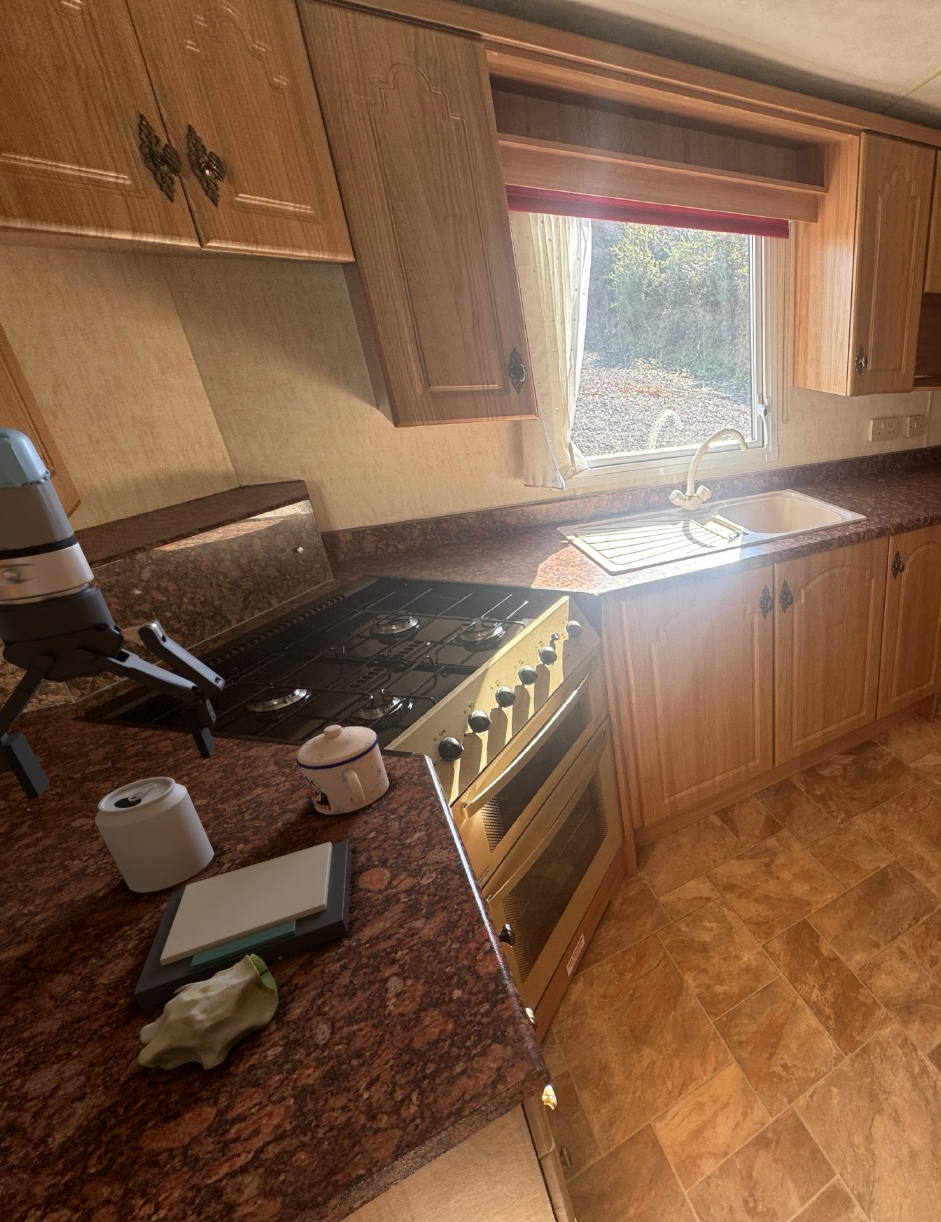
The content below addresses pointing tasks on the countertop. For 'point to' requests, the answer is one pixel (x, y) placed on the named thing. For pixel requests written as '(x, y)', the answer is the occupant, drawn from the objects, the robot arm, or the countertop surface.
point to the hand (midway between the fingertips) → (128, 771)
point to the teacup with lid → (343, 769)
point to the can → (153, 833)
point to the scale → (248, 918)
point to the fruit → (211, 1016)
